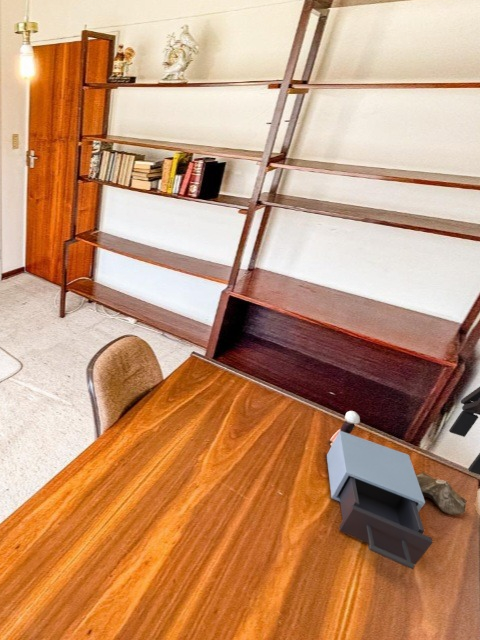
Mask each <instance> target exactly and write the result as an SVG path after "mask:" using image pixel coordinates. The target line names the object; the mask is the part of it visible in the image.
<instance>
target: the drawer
mask: <svg viewBox="0 0 480 640" xmlns="http://www.w3.org/2000/svg"><path fill="white" fill-rule="evenodd" d="M339 497H340V502H339V504H340V512H341V520H342V521H341V523H340V525H339V532H342V533H343V534H346V535H348V536H350V537H352V538H354V539H357V540H359V541H361V542H363V543H366V544H368V550H369V551H370V552H373V553H376V554H378V555H379V556H382V557H384V558H387V559H388V560H391V561H393V562H395V563H398V564H400V565H402V566H404V567H406V568H408V569H411V570H414V569H415V566H416V565H417V563H418V562H419V561H420V559H422V558H423V556H424V554H425V553H426V552H427V550H429V548H430V547H431V546H432V544H433V543H434V542H433V541H434V540H433V539H432V537H431V536H428V535H426V534H424V533H425V528H424V525H423V522H422V519H421V515H420V511H419V512H418V509H417V506H416V503H415V501H412V500H410V499H407V498H405V497H402V496H400V495H397V494H395V493H392V492H389V491H387V490H384V489H382V488H379V487H377V486H374V485H372V484H369V483H366V482H364V481H361V480H359V479H356V478H354V477H351V476H348V478H347V480H346V482H345V483H344V485H343V487H342V489H341V490H340V492H339Z"/></svg>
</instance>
